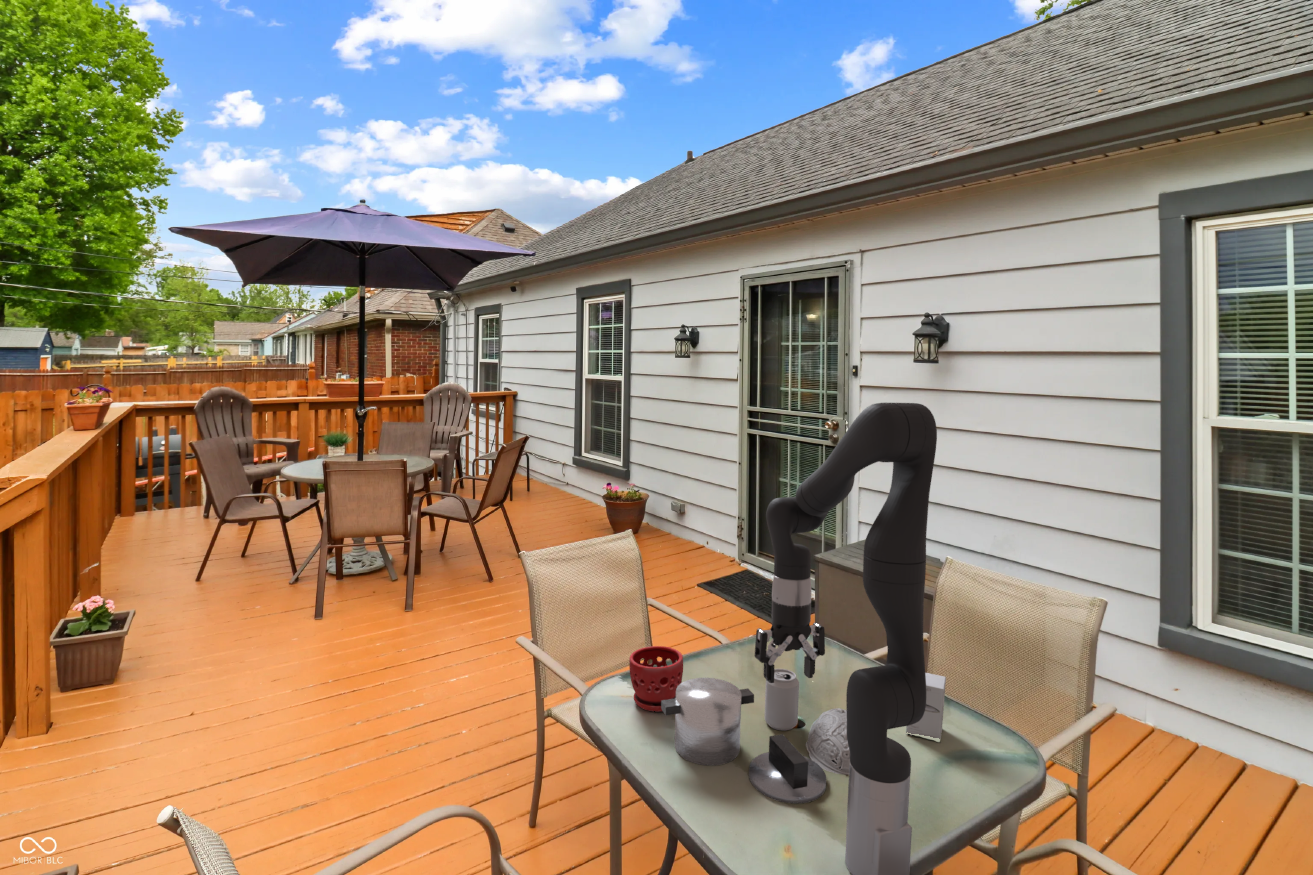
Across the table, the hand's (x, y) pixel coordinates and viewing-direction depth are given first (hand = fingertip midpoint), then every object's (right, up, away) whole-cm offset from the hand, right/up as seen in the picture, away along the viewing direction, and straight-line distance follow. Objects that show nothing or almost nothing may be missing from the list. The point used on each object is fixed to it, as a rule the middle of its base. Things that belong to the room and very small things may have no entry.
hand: (789, 678), depth 126 cm
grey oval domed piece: (+14, -20, +14) cm, 28 cm away
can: (+3, -19, +22) cm, 29 cm away
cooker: (-15, -19, +12) cm, 27 cm away
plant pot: (-26, -18, +30) cm, 44 cm away
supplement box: (+35, -20, +19) cm, 44 cm away
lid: (0, -20, +1) cm, 20 cm away
